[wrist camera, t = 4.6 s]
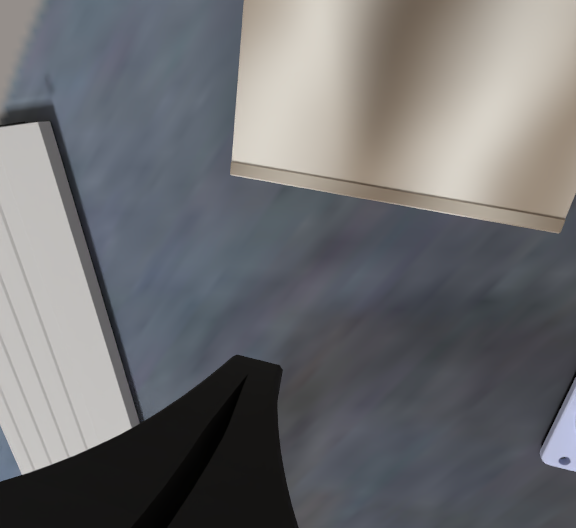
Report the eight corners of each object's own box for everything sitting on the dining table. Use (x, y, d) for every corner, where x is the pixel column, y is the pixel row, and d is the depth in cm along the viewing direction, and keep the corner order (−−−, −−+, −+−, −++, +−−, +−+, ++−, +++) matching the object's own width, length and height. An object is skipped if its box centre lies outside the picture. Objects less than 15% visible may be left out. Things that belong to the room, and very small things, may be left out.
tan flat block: (634, -5, 14) (662, -15, 13) (545, 222, 17) (559, 233, 16) (259, -44, 16) (247, -57, 15) (241, 168, 19) (230, 175, 18)
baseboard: (49, 542, 34) (187, 559, 31) (21, 580, 31) (169, 602, 29) (-126, 144, 23) (60, 118, 21) (-190, 150, 21) (13, 121, 18)
